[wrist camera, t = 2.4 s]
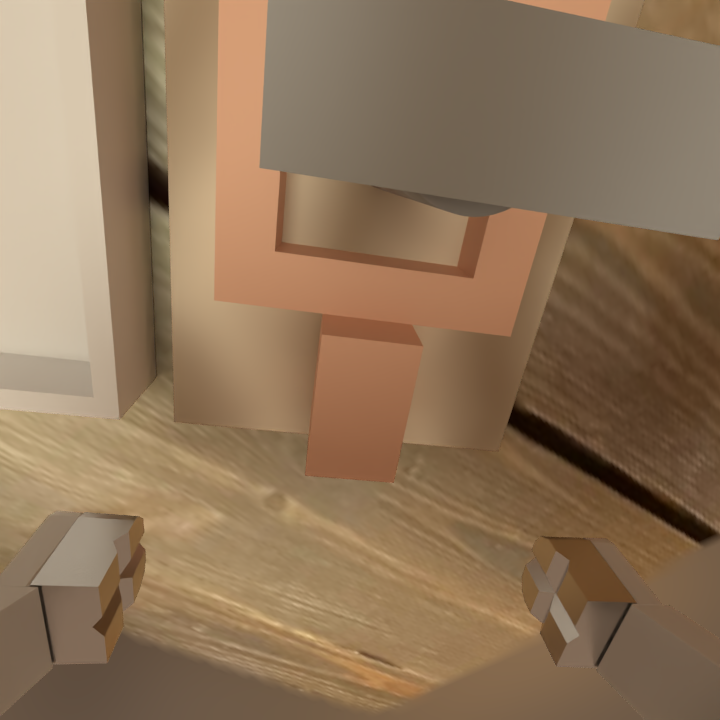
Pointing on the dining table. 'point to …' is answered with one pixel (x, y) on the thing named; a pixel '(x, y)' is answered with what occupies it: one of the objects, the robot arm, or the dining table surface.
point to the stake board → (328, 217)
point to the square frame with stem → (351, 272)
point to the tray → (74, 209)
